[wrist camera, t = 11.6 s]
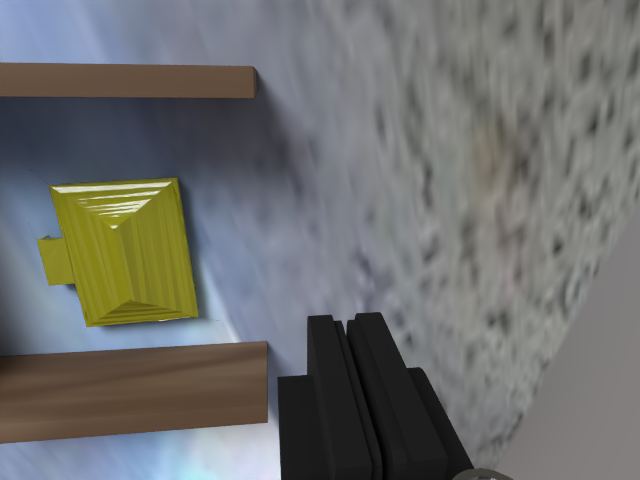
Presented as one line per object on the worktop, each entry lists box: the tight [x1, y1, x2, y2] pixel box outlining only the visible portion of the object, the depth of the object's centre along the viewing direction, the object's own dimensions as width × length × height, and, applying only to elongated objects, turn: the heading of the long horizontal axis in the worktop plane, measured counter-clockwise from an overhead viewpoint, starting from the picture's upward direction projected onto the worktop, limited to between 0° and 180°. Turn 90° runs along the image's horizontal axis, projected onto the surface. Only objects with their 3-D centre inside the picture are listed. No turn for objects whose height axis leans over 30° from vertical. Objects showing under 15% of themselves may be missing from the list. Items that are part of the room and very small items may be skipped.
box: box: [0, 63, 268, 444], centre depth 18 cm, size 15×15×5 cm
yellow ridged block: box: [28, 170, 217, 327], centre depth 20 cm, size 10×9×3 cm
